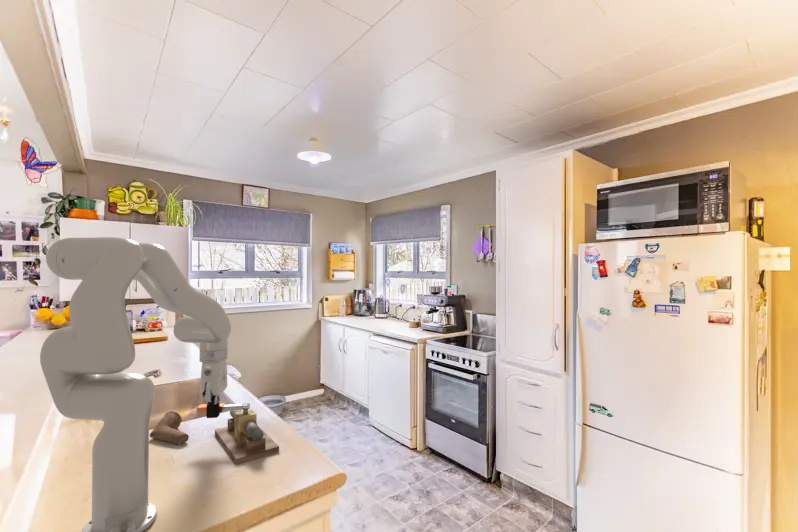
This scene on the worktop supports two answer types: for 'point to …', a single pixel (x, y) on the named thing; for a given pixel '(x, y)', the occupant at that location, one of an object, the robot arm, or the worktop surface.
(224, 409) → the valve lever
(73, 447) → the worktop surface
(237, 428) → the valve stand
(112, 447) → the robot arm
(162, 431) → the pipe
